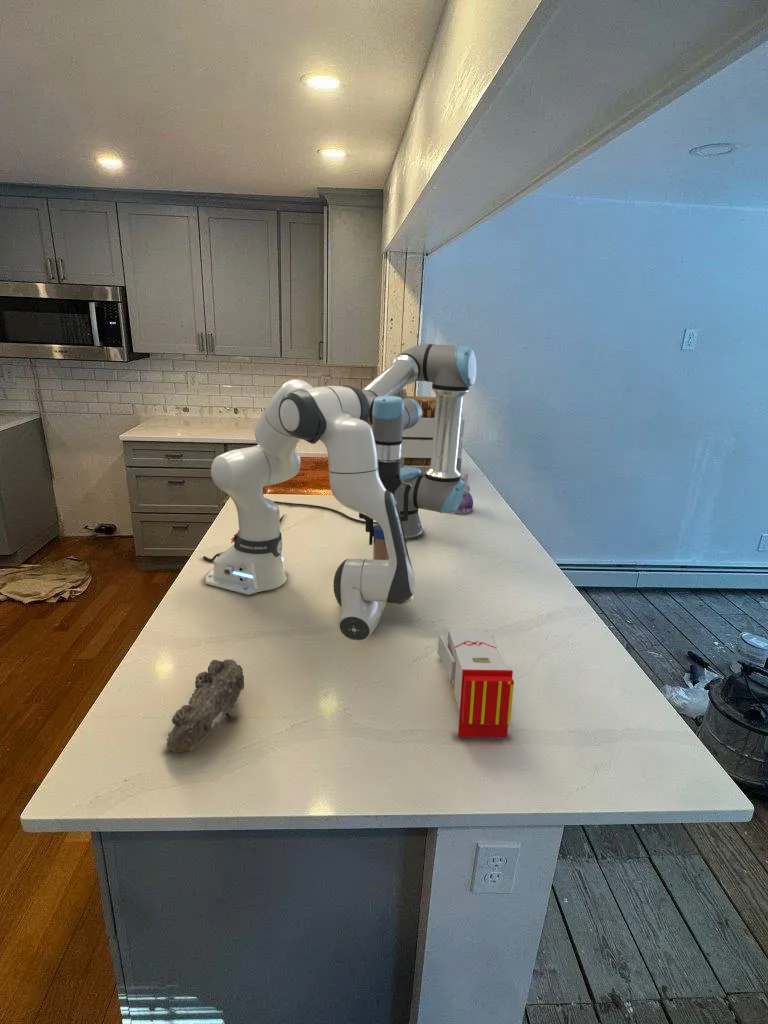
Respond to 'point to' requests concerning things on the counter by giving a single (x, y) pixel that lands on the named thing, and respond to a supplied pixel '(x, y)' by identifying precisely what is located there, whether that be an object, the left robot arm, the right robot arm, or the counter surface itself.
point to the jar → (380, 550)
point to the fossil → (206, 705)
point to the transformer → (423, 435)
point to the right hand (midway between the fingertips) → (382, 543)
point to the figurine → (465, 498)
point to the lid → (378, 532)
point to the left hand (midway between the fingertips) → (381, 573)
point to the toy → (478, 682)
